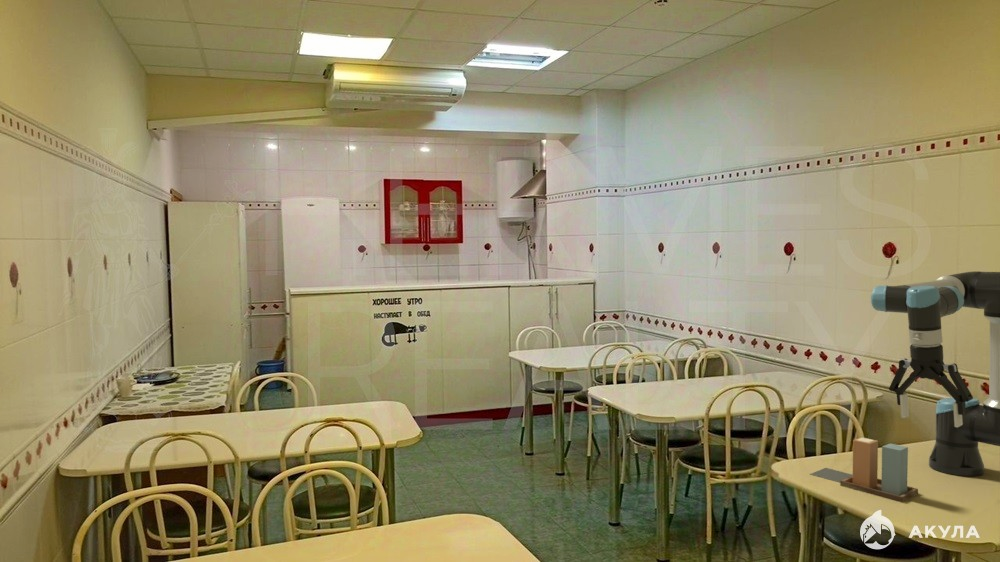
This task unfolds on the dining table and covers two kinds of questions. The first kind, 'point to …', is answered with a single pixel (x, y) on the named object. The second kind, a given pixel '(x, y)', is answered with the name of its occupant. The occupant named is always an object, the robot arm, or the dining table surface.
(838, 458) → the dining table surface
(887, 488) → the slate box
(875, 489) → the tray
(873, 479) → the rust box
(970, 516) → the dining table surface
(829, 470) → the mat
